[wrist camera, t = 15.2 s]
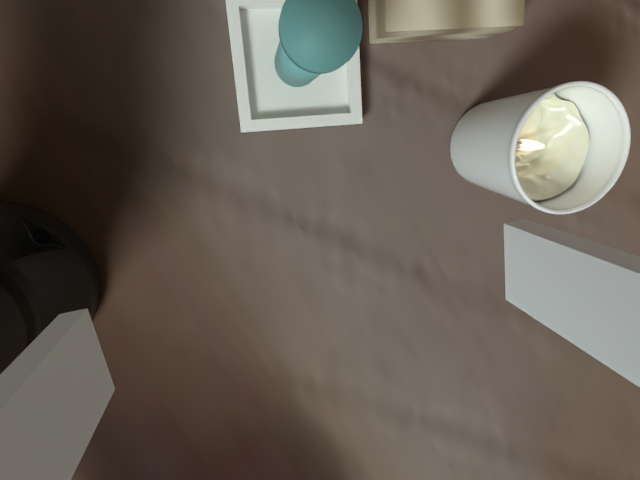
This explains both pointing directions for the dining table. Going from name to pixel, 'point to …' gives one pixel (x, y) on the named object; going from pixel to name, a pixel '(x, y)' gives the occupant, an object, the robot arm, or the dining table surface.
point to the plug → (316, 38)
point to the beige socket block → (441, 19)
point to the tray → (270, 91)
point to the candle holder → (545, 146)
